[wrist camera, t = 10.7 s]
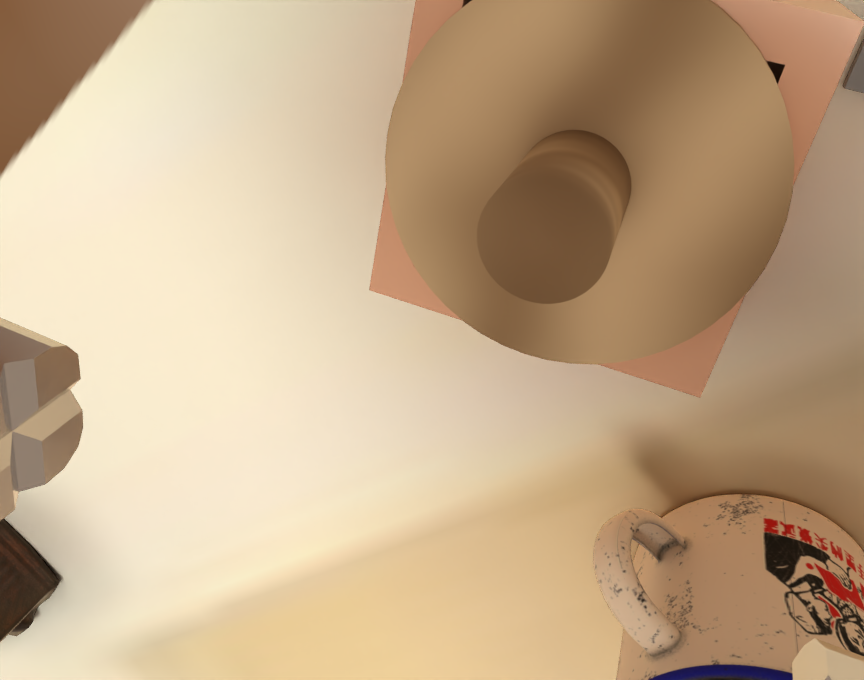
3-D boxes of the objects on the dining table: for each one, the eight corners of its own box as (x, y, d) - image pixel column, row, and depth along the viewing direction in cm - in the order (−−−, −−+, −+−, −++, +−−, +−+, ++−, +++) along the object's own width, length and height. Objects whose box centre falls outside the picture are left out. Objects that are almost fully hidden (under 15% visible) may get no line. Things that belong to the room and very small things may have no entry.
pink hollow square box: (837, 0, 21) (864, 22, 17) (704, 320, 26) (700, 397, 22) (482, -81, 23) (428, -79, 19) (422, 234, 28) (369, 290, 24)
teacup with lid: (938, 619, 29) (1049, 983, 19) (722, 694, 33) (721, 1016, 24) (727, 381, 27) (728, 645, 17) (532, 496, 32) (446, 752, 22)
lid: (870, 21, 17) (915, 54, 13) (702, 397, 22) (697, 504, 18) (432, -82, 19) (352, -81, 15) (371, 288, 24) (299, 364, 20)
